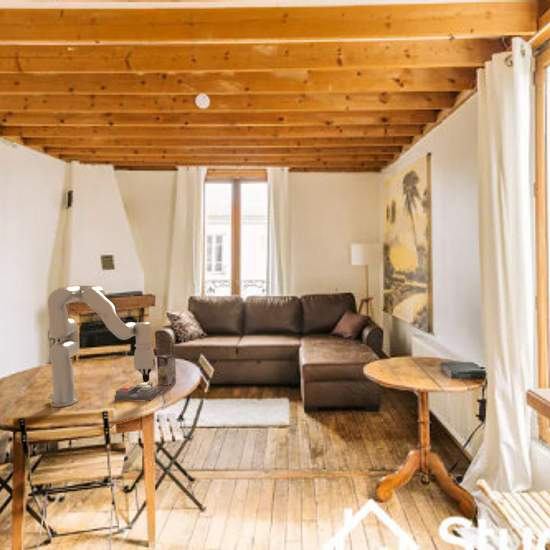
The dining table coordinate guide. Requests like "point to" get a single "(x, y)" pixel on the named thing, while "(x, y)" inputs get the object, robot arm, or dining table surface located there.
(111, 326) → the robot arm
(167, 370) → the coffee box
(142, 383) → the button cream
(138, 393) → the button panel
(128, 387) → the button red
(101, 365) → the dining table surface
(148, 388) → the button sage
